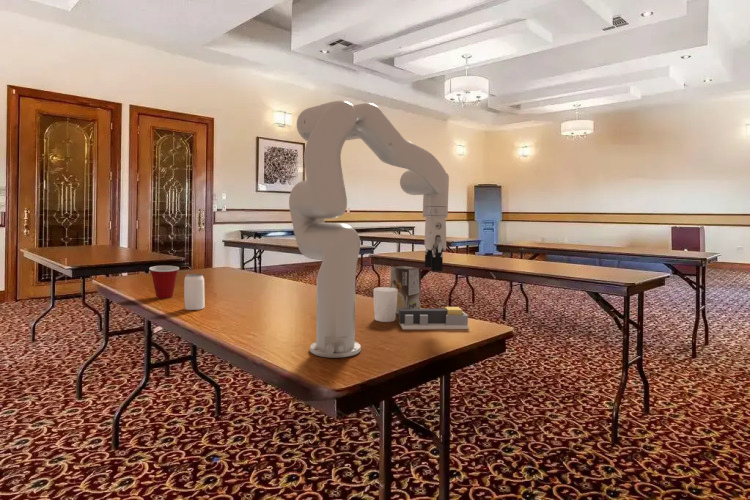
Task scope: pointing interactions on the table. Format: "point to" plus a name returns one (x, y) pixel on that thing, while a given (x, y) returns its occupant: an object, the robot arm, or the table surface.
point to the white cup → (385, 304)
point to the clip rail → (451, 323)
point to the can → (194, 292)
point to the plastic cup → (164, 280)
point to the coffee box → (406, 286)
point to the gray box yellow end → (429, 314)
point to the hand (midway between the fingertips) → (433, 268)
